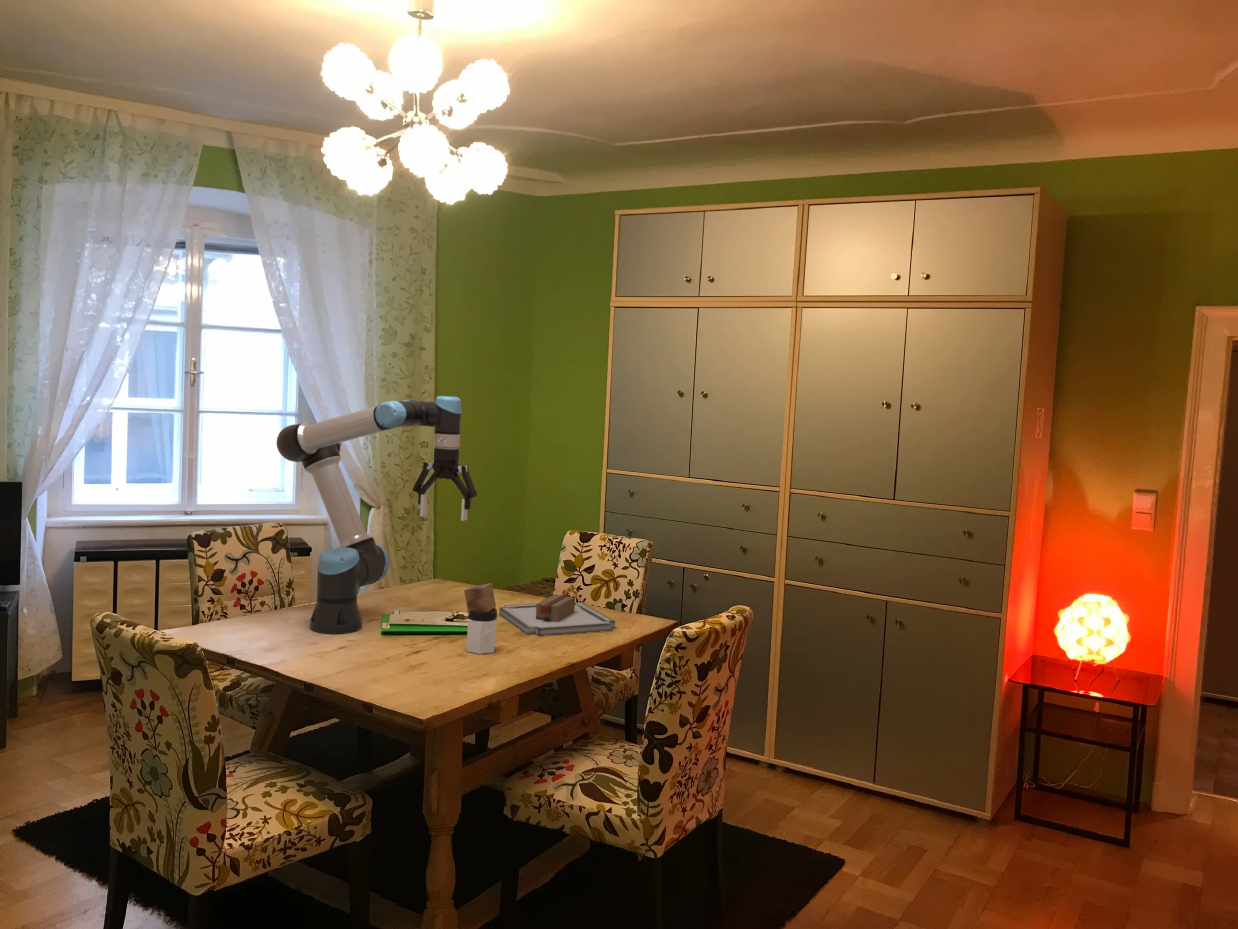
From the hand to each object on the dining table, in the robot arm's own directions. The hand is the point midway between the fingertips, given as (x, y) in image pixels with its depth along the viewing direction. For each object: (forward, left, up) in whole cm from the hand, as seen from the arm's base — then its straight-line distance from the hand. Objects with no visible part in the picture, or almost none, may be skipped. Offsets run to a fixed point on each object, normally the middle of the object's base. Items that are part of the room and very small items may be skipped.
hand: (443, 518), depth 297 cm
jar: (+20, -13, -35) cm, 42 cm away
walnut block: (+20, -13, -23) cm, 33 cm away
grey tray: (+28, +28, -36) cm, 53 cm away
